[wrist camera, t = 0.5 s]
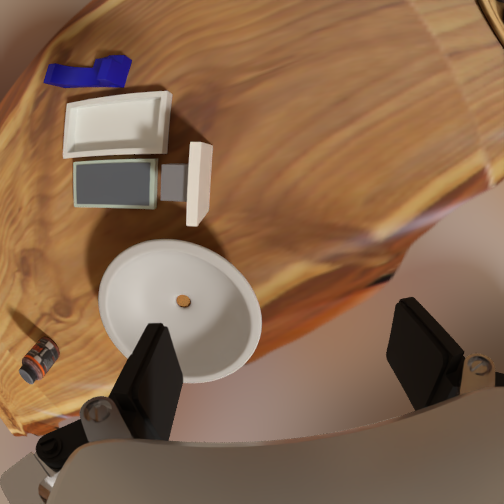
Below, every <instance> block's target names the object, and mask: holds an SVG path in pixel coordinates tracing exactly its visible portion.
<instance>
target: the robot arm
mask: <svg viewBox="0 0 504 504" xmlns="http://www.w3.org/2000/svg"><path fill="white" fill-rule="evenodd" d="M463 354H464V351H463V350H462V348H461V347H460V346H459V345H458V344H457V343H456V342H455V340H454V339H453V338H452V337H451V336H450V335H449V334H448V333H447V332H446V331H445V330H444V328H443V327H442V326H441V325H440V324H439V323H438V322H437V321H436V320H435V319H434V318H433V317H432V316H431V315H430V314H429V313H428V311H427V310H426V309H425V308H423V306H422V305H421V304H420V303H419V302H418V301H417V300H416V299H415V298H414V297H409V298H403V299H400V301H399V303H397V304H396V306H395V312H394V318H393V323H392V328H391V334H390V339H389V344H388V348H387V352H386V357H387V360H388V362H389V364H390V366H391V368H392V369H393V371H394V373H395V375H396V376H397V378H398V380H399V382H400V383H401V385H402V387H403V389H404V391H405V392H406V394H407V396H408V398H409V400H410V402H411V404H412V405H413V407H414V409H415V411H414V412H411V413H408V414H405V415H401V416H398V417H395V418H392V419H388V420H384V421H381V422H377V423H373V424H369V425H365V426H361V427H356V428H352V429H347V430H342V431H337V432H332V433H326V434H320V435H314V436H307V437H300V438H291V439H282V440H272V441H258V442H234V443H233V442H232V443H208V442H207V443H206V442H179V441H169V437H170V432H171V428H172V424H173V420H174V416H175V412H176V408H177V404H178V400H179V396H180V392H181V388H182V384H183V374H182V371H181V368H180V365H179V362H178V358H177V355H176V352H175V349H174V346H173V342H172V339H171V336H170V332H169V329H168V327H167V326H164V325H163V323H148V325H147V326H146V328H145V330H144V332H143V334H142V335H141V337H140V339H139V341H138V343H137V345H136V347H135V349H134V350H133V352H132V354H131V355H130V356H129V358H128V360H127V362H126V364H125V365H124V367H123V369H122V371H121V373H120V375H119V377H118V379H117V381H116V383H115V385H114V387H113V389H112V391H111V393H110V395H109V397H104V396H99V397H94V398H92V399H90V400H88V401H87V402H86V403H84V404H83V406H82V408H81V410H80V418H81V419H80V420H77V421H75V422H73V423H71V424H68V425H67V426H64V427H62V428H59V429H57V430H55V431H52V432H50V433H48V434H46V435H44V436H42V437H41V438H40V439H39V441H38V443H37V445H36V453H35V454H33V453H32V452H30V453H29V454H28V455H26V456H25V457H24V458H22V459H21V460H20V461H19V462H17V463H16V464H15V465H13V466H12V467H11V468H9V469H8V470H7V471H5V472H4V473H3V475H2V476H1V479H0V485H1V488H2V490H3V492H4V494H5V496H6V497H7V499H8V501H9V503H10V504H504V374H502V373H498V372H495V365H494V363H493V361H492V360H491V359H490V358H489V357H487V356H485V355H483V354H471V355H469V356H468V357H466V358H465V357H464V356H463Z"/></svg>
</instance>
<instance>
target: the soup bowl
mask: <svg viewBox="0 0 504 504" xmlns="http://www.w3.org/2000/svg"><path fill="white" fill-rule="evenodd" d="M179 295H186V296H188V297H189V298H190V300H191V304H190V306H189V307H186V308H183V307H180V306H179V305H178V304H177V302H176V298H177V297H178V296H179ZM98 304H99V312H100V316H101V319H102V322H103V325H104V327H105V330H106V332H107V334H108V335H109V337H110V339H111V340H112V342H113V343H114V344H115V346H116V347H117V348H118V349H119V350H120V352H121V353H122V354H123V355H124V356H125V357H127V358H129V356H130V355H131V354H132V352H133V350H134V349H135V347H136V345H137V343H138V341H139V339H140V337H141V335H142V334H143V332H144V330H145V328H146V326H147V325H148V323H163V325H164V326H167V327H168V329H169V332H170V336H171V339H172V342H173V346H174V349H175V352H176V355H177V358H178V362H179V365H180V368H181V371H182V374H183V383H203V382H209V381H214V380H217V379H221V378H223V377H225V376H228V375H230V374H232V373H233V372H235V371H236V370H237V369H239V368H240V367H241V366H243V365H244V364H245V363H246V362H247V361H248V359H249V358H250V357H251V356H252V354H253V352H254V351H255V349H256V347H257V345H258V342H259V339H260V335H261V328H262V317H261V311H260V306H259V303H258V300H257V298H256V295H255V293H254V291H253V289H252V287H251V286H250V284H249V283H248V281H247V280H246V279H245V277H244V276H243V275H242V274H241V273H240V271H239V270H238V269H237V268H235V267H234V266H233V265H232V264H231V263H230V262H229V261H227V260H226V259H225V258H223V257H222V256H220V255H219V254H217V253H215V252H213V251H212V250H210V249H208V248H205V247H203V246H201V245H198V244H195V243H192V242H187V241H183V240H176V239H155V240H149V241H145V242H141V243H138V244H136V245H133V246H131V247H129V248H128V249H126V250H124V251H123V252H121V253H120V254H119V255H118V256H117V257H116V258H115V259H114V260H113V261H112V262H111V263H110V265H109V266H108V267H107V269H106V271H105V273H104V275H103V277H102V280H101V283H100V288H99V295H98Z"/></svg>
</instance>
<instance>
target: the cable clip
mask: <svg viewBox="0 0 504 504" xmlns="http://www.w3.org/2000/svg"><path fill="white" fill-rule="evenodd" d="M131 63H132V60H131V59H129V58H128V57H127V56H125V55H109V56H108V57H105V58H100V59H96V60H95V63H94V66H93V68H80V67H70V66H64V65H59V64H56V63H55V64H49V66H48V69H47V72H46V76H45V79H44V83H46V84H50V85H55V86H59V87H63V88H76V87H120V88H124V86H125V82H126V79H127V75H128V72H129V69H130V66H131Z"/></svg>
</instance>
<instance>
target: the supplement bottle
mask: <svg viewBox="0 0 504 504" xmlns="http://www.w3.org/2000/svg"><path fill="white" fill-rule="evenodd" d="M59 355H60V352H59V349H58V347H57V346H56V344H55V343H54V342H53V341H52V340H51V339H49V338H47V337H42V338H41V339H40V340H39V341H38V342H37V343H36V344H35V345H34V346H33V348H32V349H31V350H30V351H29V352H28V353H27V354H26V355H25V357H24V358H23V359H22V367H21V368H20V369H19V373H20V375H21V376H22V378H23V379H24V380H25V381H26V382H28V383H29V384H33V383H34V382H35V381H36V380H41V379H42V378H43V377H44V376H45V375H46V373H47V372H48V371H49V369H50V368H51V367H52V365H53V364H54V363H55V361H56V360H57V359H58V357H59Z"/></svg>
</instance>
